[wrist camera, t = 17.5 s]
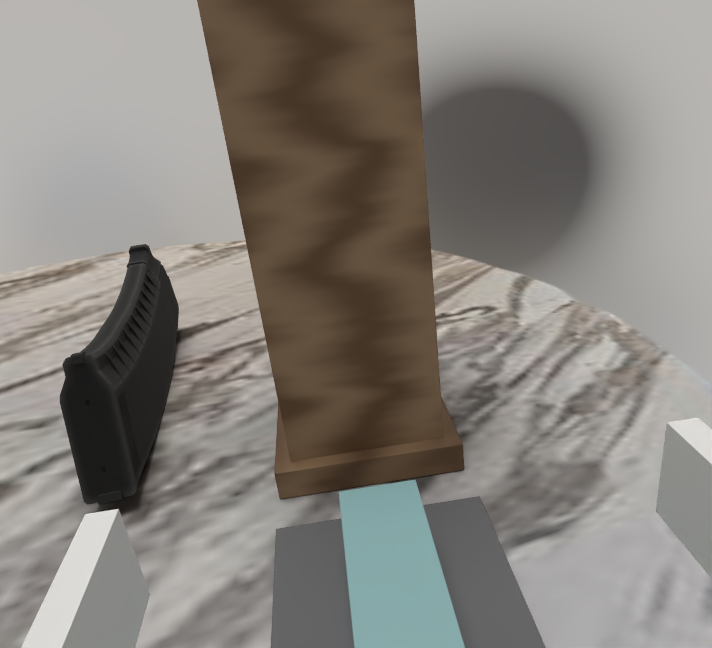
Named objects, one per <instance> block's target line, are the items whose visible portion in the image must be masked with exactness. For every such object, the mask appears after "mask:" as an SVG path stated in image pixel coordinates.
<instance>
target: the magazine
mask: <svg viewBox="0 0 712 648" xmlns="http://www.w3.org/2000/svg"><path fill="white" fill-rule="evenodd" d="M129 254H130V259H129V263H128V265H127V268H128V269H127V273H126V276H125V280H124V283H123V286H122V289H121V292H120V295H119V297H118V299H117V302H116V304H115V306H114V308H113V310H112V312H111V314H110V315H109V317H108V318H107V320H106V321H105V323H104V324H103V326H102V327H101V329H100V330H99V332H98V333H97V335H96V336H95V338H94V339H93V340H92V341H91V343H90V344H89V345H88V346H87V347H86V348H85V349H83V350H82V351H81V352H80V353H75V354H72V355H71V357H68V358H66V359H65V361H64V363H63V368H64V372H65V376H66V378H65V381H64V385H63V388H62V391H61V394H60V405H61V409H62V413H63V417H64V421H65V425H66V429H67V433H68V438H69V442H70V446H71V450H72V454H73V458H74V462H75V466H76V470H77V475H78V479H79V483H80V487H81V491H82V495H83V499H84V502H85V503H86V504H93V503H99V505H100V504H105V503H110V502H115V501H119V500H123V499H124V498H125V497H126V496H131V495H135V493H136V491H137V489H138V485H137V483H138V480H139V478H140V475H141V473H142V470H143V468H144V465H145V462H146V460H147V457H148V455H149V452H150V450H151V447H152V445H153V442H154V439H155V437H156V434H157V431H158V428H159V425H160V421H161V418H162V415H163V411H164V408H165V404H166V400H167V396H168V391H169V387H170V381H171V376H172V370H173V363H174V354H175V346H176V337H177V329H178V314H179V308H178V303H177V300H176V297H175V294H174V291H173V288H172V285H171V282H170V279H169V276H167V274H166V271H165V269H164V267H163V266H162V265H161V262H160V261H159V260H157V259H155V258H154V257H153V255H152V253H151V251H150V248H149V246H148V245H146V244H144V245H136V246H132V247H131V248H130V250H129Z"/></svg>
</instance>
